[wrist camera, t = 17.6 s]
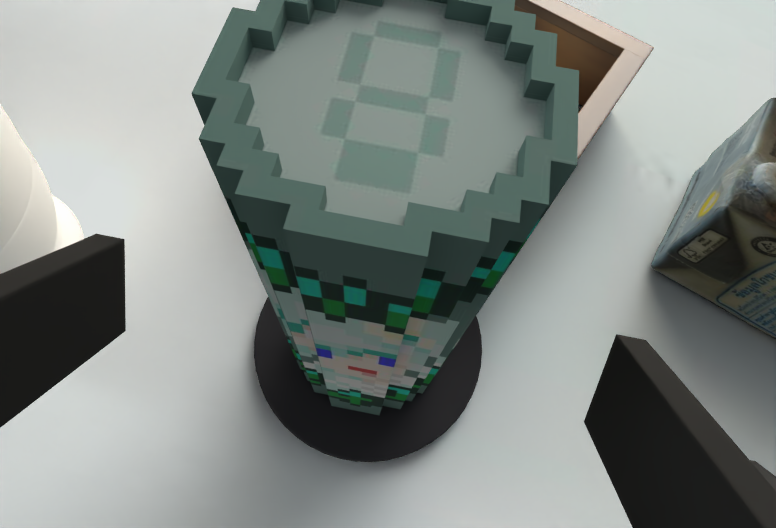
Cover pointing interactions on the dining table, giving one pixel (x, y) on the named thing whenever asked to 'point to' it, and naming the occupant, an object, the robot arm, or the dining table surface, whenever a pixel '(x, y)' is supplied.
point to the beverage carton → (730, 226)
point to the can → (384, 172)
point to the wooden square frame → (590, 59)
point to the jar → (28, 205)
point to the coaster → (354, 428)
